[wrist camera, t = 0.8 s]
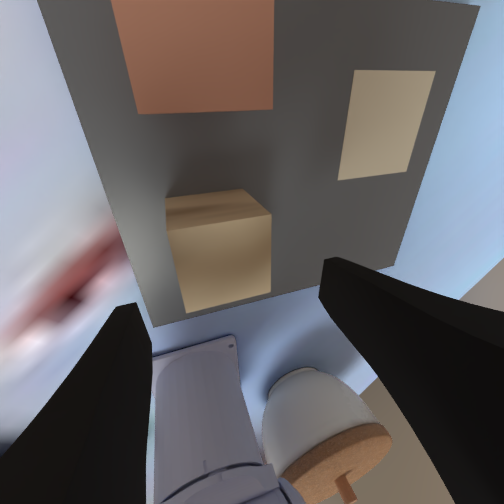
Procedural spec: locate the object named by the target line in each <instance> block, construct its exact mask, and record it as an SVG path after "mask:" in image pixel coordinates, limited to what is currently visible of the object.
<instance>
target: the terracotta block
mask: <svg viewBox="0 0 504 504" xmlns="http://www.w3.org/2000/svg"><path fill="white" fill-rule="evenodd" d="M111 3H112V8H113V12H114V16H115V20H116V24H117V28H118V32H119V37H120V41H121V45H122V49H123V53H124V57H125V61H126V66H127V70H128V74H129V78H130V82H131V86H132V90H133V95H134V99H135V103H136V107H137V111H138V114H173V113H201V112H229V111H252V110H271V109H273V56H274V0H111Z"/></svg>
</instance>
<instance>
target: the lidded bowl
mask: <svg viewBox="0 0 504 504" xmlns="http://www.w3.org/2000/svg"><path fill="white" fill-rule="evenodd" d="M262 441H263V449H264V454H265V459H266V463H267V464H270V463H272V464H273V468H274V471H275V474H276V477H277V478H279V477H282V478H285V479H286V480H287V481H289V483H290V484H291V485H292V486H293V487H294V488H295V489H296V490H297V491H298V492H299V493H300V494H301V496H302V497H303V499H304V501H305V502H306V504H316V503H319V502H321V501H323V500H325V499H327V498H329V497H331V496H332V495H334V494H336V493H338V492H339V493H340V495H341V497H342V499H343V501H344V503H345V504H353V503H355V502H356V501H357V497H356V495H355V493H354V491H353V490H352V488H351V486H350V485H351V484H352V483H354V482H355V481H356V480H358V479H359V478H361V477H362V476H363V475H365V474H366V473H367V472H368V471H370V470H371V469H372V468H373V467H374V466H375V465H377V464H378V463H379V462H380V461H381V460H382V458H383V457H384V456H385V455H386V454H387V452H388V451H389V449H390V448H391V445H392V438H391V436H390V435H389V433H388V431H387V430H386V429H385V427H384V426H383V425H381V424H380V423H379V422H378V420H377V419H376V417H375V416H374V414H373V413H372V412H371V410H370V409H369V408H368V406H367V405H366V404H365V403H364V401H363V400H362V399H361V398H360V397H359V396H358V395H357V394H356V393H355V392H354V391H353V390H352V389H351V388H350V387H349V386H348V385H347V384H345V383H344V382H343V381H341V380H340V379H339V378H337V377H335V376H333V375H330V374H328V373H325V372H320V371H317V370H316V369H315V368H311V367H305V368H300V369H296V370H294V371H292V372H289V373H288V374H286V375H284V376H283V377H281V378H280V379H279V380H278V381H277V382H276V383H275V384H274V385H273V386H272V388H271V389H270V391H269V394H268V401H267V403H266V406H265V409H264V413H263V419H262Z"/></svg>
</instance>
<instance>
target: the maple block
mask: <svg viewBox="0 0 504 504" xmlns="http://www.w3.org/2000/svg"><path fill="white" fill-rule="evenodd" d="M165 213H166V231H167V235H168V240H169V244H170V248H171V252H172V256H173V260H174V264H175V269H176V273H177V277H178V281H179V285H180V289H181V293H182V298H183V302H184V306H185V310H186V313H190V312H194V311H198V310H202V309H206V308H210V307H214V306H218V305H222V304H226V303H230V302H234V301H237V300H241V299H245V298H249V297H253V296H257V295H261V294H265V293H269V292H271V223H272V214H271V213H270V212H268V211H267V210H266V209H265V208H264V207H263V206H262V205H261V204H259V203H258V202H257V201H256V200H255V199H254V198H253V197H252V196H250V195H249V194H248V193H247V192H246V191H245V190H244V189H235V190H227V191H219V192H211V193H203V194H195V195H187V196H179V197H171V198H165Z"/></svg>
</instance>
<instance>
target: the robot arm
mask: <svg viewBox="0 0 504 504" xmlns="http://www.w3.org/2000/svg"><path fill="white" fill-rule="evenodd" d="M318 298H319V299H320V301H321V303H322V304H323V306H324V308H325V309H326V311H327V312H328V314H329V316H330V317H331V318H332V320H333V321H334V322H335V324H336V325H337V326H338V327H339V328H340V330H341V331H342V332H343V333H344V335H345V336H346V337H347V338H348V339H349V341H350V342H351V343H352V344H353V346H354V347H355V348H356V349H357V350H358V352H359V353H360V354H361V355H362V356H363V358H364V359H365V360H366V361H367V362H368V364H369V365H370V366H371V368H372V369H373V370H374V372H375V373H376V374H377V376H378V377H379V379H380V380H381V381H382V383H383V384H384V386H385V387H386V389H387V390H388V392H389V393H390V395H391V396H392V398H393V399H394V401H395V402H396V404H397V405H398V407H399V408H400V410H401V412H402V413H403V415H404V416H405V418H406V419H407V421H408V422H409V424H410V426H411V427H412V429H413V431H414V432H415V434H416V436H417V437H418V439H419V440H420V442H421V444H422V446H423V447H424V449H425V450H426V452H427V454H428V456H429V457H430V459H431V461H432V462H433V464H434V466H435V468H436V470H437V471H438V473H439V475H440V477H441V479H442V480H443V482H444V484H445V486H446V487H447V489H448V491H449V493H450V495H451V496H452V498H453V500H454V502H455V504H504V312H502V311H498V310H493V309H490V308H485V307H482V306H478V305H474V304H470V303H467V302H463V301H460V300H456V299H453V298H450V297H446V296H443V295H440V294H437V293H434V292H431V291H428V290H425V289H422V288H419V287H416V286H413V285H411V284H408V283H405V282H402V281H400V280H397V279H395V278H392V277H389V276H387V275H384V274H382V273H379V272H377V271H374V270H372V269H369V268H367V267H364V266H362V265H359V264H357V263H354V262H351V261H349V260H346V259H343V258H340V257H332V258H328V259H324V263H323V269H322V276H321V283H320V289H319V296H318ZM151 391H152V393H153V395H154V398H155V450H154V504H306V502H305V501H304V499H303V497H302V496H301V494H300V493H299V492H298V491H297V490H296V489H295V488H294V487H293V486H292V485H291V484H290V483H289V481H287V480H286V479H285V478H282V477H279V478H277V477H276V474H275V471H274V468H273V464H272V463H270V464H267V465H264V464H263V460H262V457H261V454H260V450H259V447H258V444H257V440H256V437H255V433H254V430H253V427H252V423H251V420H250V416H249V413H248V410H247V406H246V403H245V400H244V396H243V393H242V389H241V386H240V377H239V367H238V357H237V347H236V339H235V337H234V336H232V335H230V336H226V337H223V338H219V339H216V340H212V341H209V342H205V343H202V344H199V345H195V346H192V347H188V348H185V349H181V350H178V351H174V352H171V353H167V354H164V355H161V356H157V357H154V358H152V342H151V340H150V337H149V334H148V332H147V329H146V327H145V324H144V321H143V319H142V316H141V313H140V311H139V308H138V306H137V303H136V302H135V303H130V304H126V305H121V306H117V307H116V308H115V309H114V310H113V312H112V313H111V315H110V316H109V318H108V319H107V321H106V322H105V323H104V325H103V326H102V328H101V329H100V331H99V332H98V334H97V335H96V337H95V338H94V340H93V341H92V343H91V344H90V346H89V347H88V348H87V350H86V351H85V353H84V354H83V355H82V357H81V358H80V360H79V361H78V362H77V364H76V365H75V367H74V368H73V369H72V371H71V372H70V373H69V375H68V376H67V377H66V379H65V380H64V381H63V383H62V384H61V385H60V386H59V388H58V389H57V390H56V392H55V393H54V394H53V395H52V397H51V398H50V399H49V401H48V402H47V403H46V405H45V406H44V407H43V408H42V410H41V411H40V412H39V413H38V414H37V416H36V417H35V418H34V419H33V421H32V422H31V423H30V424H29V425H28V427H27V428H26V429H25V430H24V431H23V432H22V434H21V435H20V436H19V437H18V438H17V439H16V441H15V442H14V443H13V444H12V445H11V446H10V448H9V449H8V450H7V451H6V452H5V453H4V454H3V456H2V457H1V458H0V504H146V451H147V437H148V426H149V414H150V402H151Z"/></svg>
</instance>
